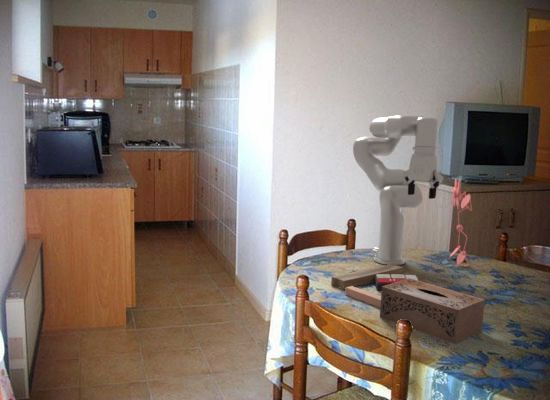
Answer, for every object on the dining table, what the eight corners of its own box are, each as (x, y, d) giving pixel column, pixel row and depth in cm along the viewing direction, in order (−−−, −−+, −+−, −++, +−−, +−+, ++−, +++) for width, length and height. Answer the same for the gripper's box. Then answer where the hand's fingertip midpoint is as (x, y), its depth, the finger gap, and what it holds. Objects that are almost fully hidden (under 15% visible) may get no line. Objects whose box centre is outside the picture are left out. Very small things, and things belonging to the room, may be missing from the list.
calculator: (374, 273, 220) (416, 273, 218) (374, 284, 220) (416, 285, 219) (377, 281, 209) (421, 282, 207) (376, 293, 210) (420, 294, 208)
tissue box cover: (379, 318, 184) (381, 286, 182) (407, 308, 194) (409, 278, 192) (455, 344, 166) (458, 310, 164) (481, 332, 175) (484, 299, 174)
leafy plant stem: (462, 254, 264) (467, 175, 258) (476, 271, 239) (482, 183, 233) (426, 253, 265) (430, 174, 259) (436, 270, 240) (442, 182, 234)
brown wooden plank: (331, 284, 214) (331, 276, 214) (390, 271, 234) (391, 263, 234) (343, 289, 210) (343, 280, 209) (402, 275, 230) (403, 267, 229)
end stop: (345, 294, 204) (345, 287, 204) (351, 292, 206) (352, 285, 206) (381, 308, 192) (381, 300, 192) (387, 306, 194) (388, 298, 193)
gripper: (400, 149, 228) (396, 193, 231) (438, 153, 215) (434, 200, 217) (412, 148, 233) (409, 192, 235) (450, 152, 219) (446, 199, 222)
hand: (421, 196), depth 226 cm, fingers open, 9 cm apart
